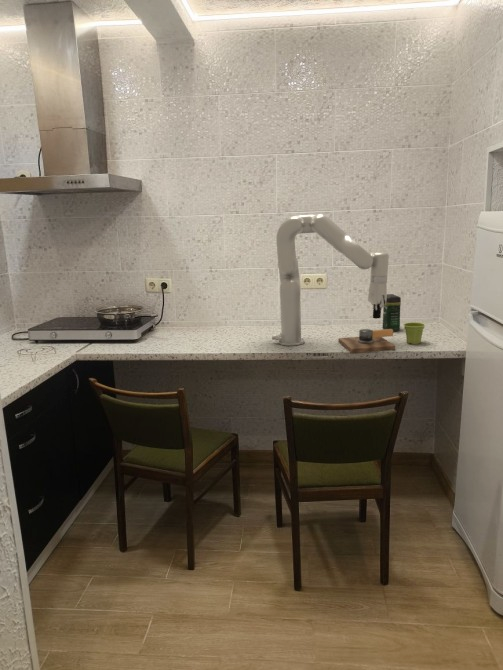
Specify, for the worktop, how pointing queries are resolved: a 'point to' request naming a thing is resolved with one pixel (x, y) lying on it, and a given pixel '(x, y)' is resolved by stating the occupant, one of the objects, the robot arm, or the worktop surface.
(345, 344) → the wooden cutting board
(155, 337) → the worktop surface
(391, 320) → the coffee jar
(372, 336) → the portafilter
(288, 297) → the robot arm
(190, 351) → the worktop surface
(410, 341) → the plant pot
